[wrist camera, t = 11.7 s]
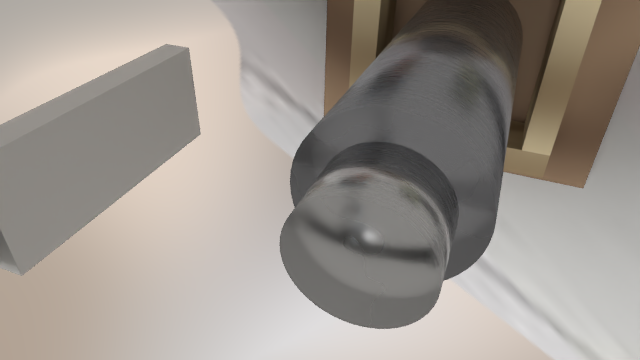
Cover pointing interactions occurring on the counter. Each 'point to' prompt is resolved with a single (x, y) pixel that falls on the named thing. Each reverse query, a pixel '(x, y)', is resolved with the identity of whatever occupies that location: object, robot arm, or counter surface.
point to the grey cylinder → (406, 167)
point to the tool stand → (519, 73)
